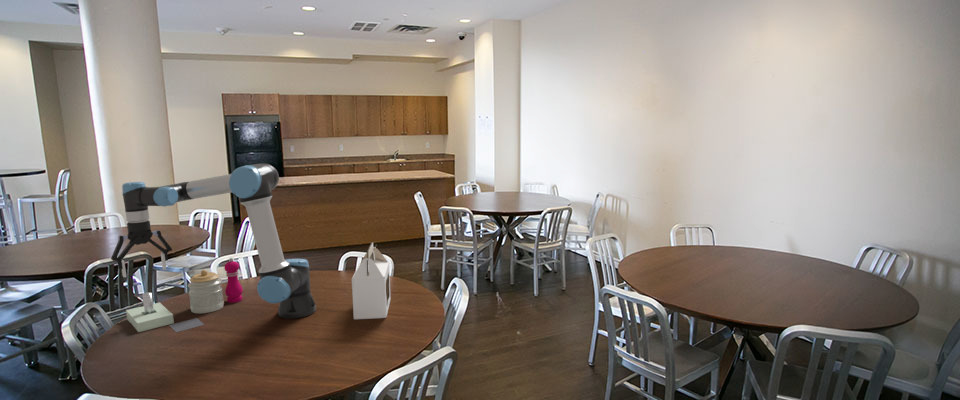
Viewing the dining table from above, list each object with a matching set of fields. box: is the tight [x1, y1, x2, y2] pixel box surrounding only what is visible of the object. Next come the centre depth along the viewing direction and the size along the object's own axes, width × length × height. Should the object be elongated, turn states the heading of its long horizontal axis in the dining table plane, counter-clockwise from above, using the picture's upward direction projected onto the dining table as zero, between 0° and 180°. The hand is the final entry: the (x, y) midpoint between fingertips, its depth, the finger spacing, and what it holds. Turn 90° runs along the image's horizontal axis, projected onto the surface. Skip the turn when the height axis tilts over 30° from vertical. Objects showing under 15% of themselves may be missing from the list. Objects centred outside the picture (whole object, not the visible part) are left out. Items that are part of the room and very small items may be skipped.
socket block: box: [125, 302, 175, 333], centre depth 200 cm, size 20×12×4 cm, turn 46°
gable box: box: [351, 242, 391, 320], centre depth 209 cm, size 22×13×28 cm, turn 6°
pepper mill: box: [223, 257, 244, 304], centre depth 222 cm, size 7×7×20 cm
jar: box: [187, 269, 225, 314], centre depth 213 cm, size 13×13×18 cm
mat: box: [168, 317, 205, 333], centre depth 196 cm, size 10×10×1 cm
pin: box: [141, 291, 154, 315], centre depth 200 cm, size 3×3×12 cm
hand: (145, 272), depth 197 cm, fingers open, 13 cm apart
